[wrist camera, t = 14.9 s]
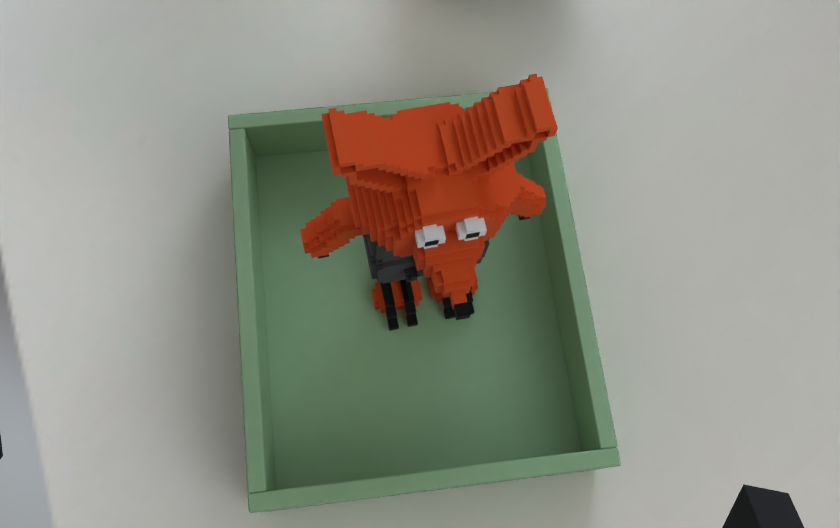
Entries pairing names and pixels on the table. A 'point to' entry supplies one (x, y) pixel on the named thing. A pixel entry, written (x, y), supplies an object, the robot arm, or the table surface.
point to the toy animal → (431, 192)
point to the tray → (403, 340)
